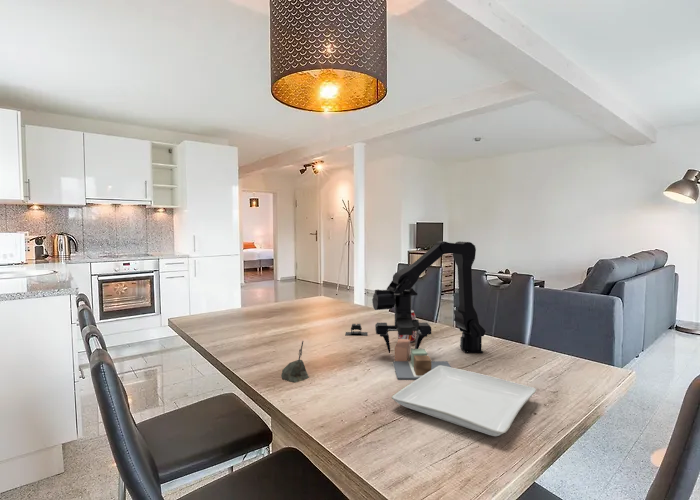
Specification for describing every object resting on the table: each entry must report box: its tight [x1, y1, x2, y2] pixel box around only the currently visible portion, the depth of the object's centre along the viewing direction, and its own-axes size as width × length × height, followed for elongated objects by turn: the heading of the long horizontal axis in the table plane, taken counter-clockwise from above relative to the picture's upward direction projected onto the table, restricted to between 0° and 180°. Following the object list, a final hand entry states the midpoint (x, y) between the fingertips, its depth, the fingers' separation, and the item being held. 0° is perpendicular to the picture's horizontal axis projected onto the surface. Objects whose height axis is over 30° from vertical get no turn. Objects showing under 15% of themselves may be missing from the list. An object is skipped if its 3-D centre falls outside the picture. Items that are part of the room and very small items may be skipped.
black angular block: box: [344, 323, 368, 337], centre depth 161 cm, size 12×7×5 cm, turn 87°
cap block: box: [394, 339, 411, 361], centre depth 132 cm, size 4×10×5 cm, turn 165°
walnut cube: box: [414, 355, 432, 375], centre depth 116 cm, size 4×4×4 cm
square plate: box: [391, 365, 537, 437], centre depth 96 cm, size 27×27×4 cm
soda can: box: [397, 309, 417, 343], centre depth 151 cm, size 7×7×12 cm
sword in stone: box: [280, 340, 310, 384], centre depth 116 cm, size 10×8×12 cm
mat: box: [392, 360, 453, 381], centre depth 119 cm, size 18×14×1 cm
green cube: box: [410, 348, 428, 367], centre depth 123 cm, size 4×4×4 cm
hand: (402, 352), depth 132 cm, fingers open, 9 cm apart
